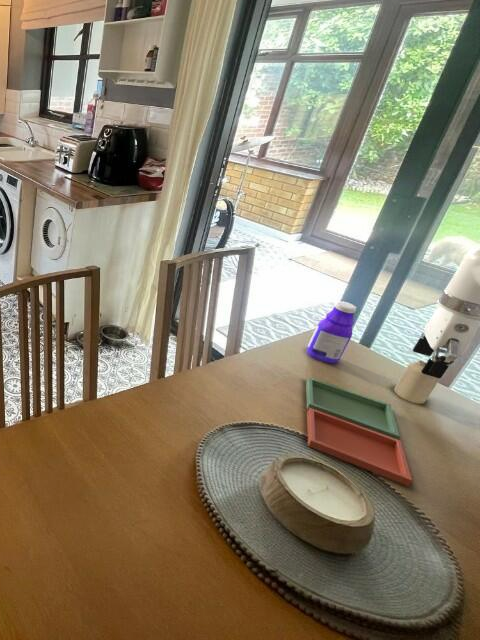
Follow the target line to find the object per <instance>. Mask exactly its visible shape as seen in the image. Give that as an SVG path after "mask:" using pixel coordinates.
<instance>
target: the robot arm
mask: <svg viewBox="0 0 480 640" xmlns="http://www.w3.org/2000/svg"><path fill="white" fill-rule="evenodd" d="M436 304H437V305H438V307H436V309H435V311H434V312H433V313H432V315H431V317H430V318H429V319H428V321H427V322H426V325H425V326H424V329H423V332H422V333H421V335H420V337H419V338H418V340H417V341H416V343H415V344H414V347H413V348H412V352H413V353H415V354H420V355H423V356H426V357H431V356H432V357H431V358H428V359H427V361H426V362H425V363H426V364H425V366H424V367H423V369H422V370H421V372H422V373H423V374H426V375H429V376H432V377H435V378H440V379H442V377H443V376H444V374H445V373H446V372H447V370H448V369H449V368H450V367H451V366H452V364H454V362H455V360H457V359H458V358H461V357H463V356H464V355H465V353H466V352H467V351H468V349H469V347H470V345H471V343H472V341H473V340H474V339H475V336H476V334H477V332H478V330H479V328H480V248H475V249H472V250H470V251H468V252H467V253H466V255H465V256H464V257H463V259H462V260H461V262H460V264H459V266H458V267H457V269H456V270H455V272H454V274H452V277H451V278H450V280H449V282H448V284H447V285H446V286H445V288H444V290H443V292H442V293H441V295H440V296H439V298H438V300H437V302H436ZM439 354H444V355H440V356H439Z"/></svg>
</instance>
